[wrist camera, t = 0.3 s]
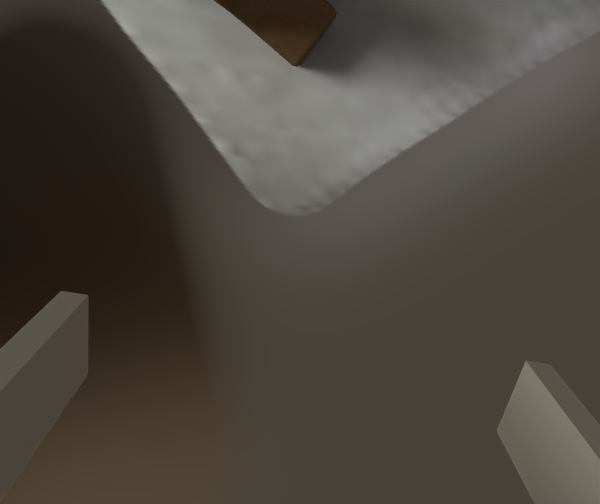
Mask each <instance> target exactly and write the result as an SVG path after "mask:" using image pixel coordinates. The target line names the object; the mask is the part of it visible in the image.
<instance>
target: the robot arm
mask: <svg viewBox="0 0 600 504" xmlns="http://www.w3.org/2000/svg"><path fill="white" fill-rule="evenodd" d="M87 375H88V295H83V294H77V293H70V292H63V291H61V292H60V293H59V294H58V295H57V296H56V297H55V298H53V299H52V300H51V301H50V303H48V304H47V305H46V306H45V307H44V308H43V309H42V310H41V311H40V312H39V313H38V314H37V315H36V316H35V317H34V318H32V319H31V320H30V321H29V322H28V323H27V324H26V325H25V326H24V327H23V328H22V329H21V330H20V331H19V332H18V333H17V334H16V335H15V336H14V337H13V338H12V339H11V340H9V341H8V342H7V343H6V344H5V345H4V346H3V347H2V348H1V349H0V502H1V500H2V499H3V497H4V496H5V494H6V493H7V491H8V490H9V488H10V487H11V486H12V484H13V482H14V481H15V480H16V478H17V477H18V475H19V474H20V472H21V471H22V469H23V468H24V467H25V465H26V464H27V462H28V461H29V459H30V458H31V456H32V455H33V453H34V452H35V451H36V449H37V447H38V446H39V445H40V443H41V442H42V440H43V439H44V437H45V436H46V434H47V433H48V432H49V430H50V428H51V427H52V426H53V424H54V423H55V421H56V420H57V418H58V417H59V415H60V414H61V413H62V411H63V410H64V408H65V407H66V405H67V404H68V402H69V401H70V399H71V398H72V396H73V395H74V394H75V392H76V391H77V389H78V388H79V386H80V384H81V383H82V382H83V380H84V379H85V377H86V376H87ZM497 432H498V434H499V436H500V438H501V440H502V442H503V444H504V446H505V448H506V450H507V452H508V453H509V455H510V457H511V459H512V461H513V463H514V465H515V467H516V469H517V471H518V473H519V474H520V476H521V478H522V480H523V482H524V484H525V486H526V488H527V490H528V491H529V493H530V495H531V497H532V499H533V501H534V503H535V504H600V425H599V424H598V423H597V421H596V420H595V419H594V418H593V416H592V415H591V414H590V413H589V412H588V410H587V409H586V408H585V407H584V406H583V404H582V403H581V402H580V401H579V399H578V398H577V397H576V396H575V395H574V393H573V392H572V391H571V390H570V388H569V387H568V386H567V385H566V383H565V382H564V381H563V380H562V379H561V377H560V376H559V375H558V374H557V372H556V371H555V370H554V369H553V368H552V366H551V365H550V364H544V363H537V362H530V361H526V362H525V364H524V367H523V369H522V372H521V374H520V377H519V379H518V381H517V384H516V386H515V388H514V391H513V393H512V396H511V398H510V400H509V403H508V405H507V408H506V410H505V413H504V415H503V417H502V420H501V422H500V425H499V427H498V429H497Z"/></svg>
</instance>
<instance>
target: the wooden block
mask: <svg viewBox="0 0 600 504" xmlns="http://www.w3.org/2000/svg"><path fill="white" fill-rule="evenodd" d="M214 1H216V2H217V3H218V4H220V5H221V6H222V7H224V8H225V9H226V10H228V11H229V12H230V13H232V14H233V15H234V16H235V17H237V18H238V19H239V20H240V21H241V22H243V23H244V24H245V25H246V26H247V27H249V28H250V29H251V30H252V31H253V32H254V33H256V34H257V35H258V36H259V37H260V38H261V39H263V40H264V41H265V42H266V43H267V44H268V45H270V46H271V47H272V48H273V49H274V50H275V51H276V52H278V53H279V54H280V55H281V56H282V57H283V58H284V59H286V60H287V61H288V62H289V63H290V64H291V65H293V66H296V67H297V66H299V65H300V64H301V63H302V62H303V60H304V59H305V58H306V56H307V55H308V54H309V52H310V51H311V50H312V48H313V47H314V46H315V45H316V43H317V42H318V41H319V39H320V38H321V37H322V35H323V34H324V33H325V31H326V30H327V29H328V27H329V26H330V25H331V23H332V22H333V21H334V19H335V17H336V14H337V13H336V11H335V9H334V8H333V7H332V6H331V5H330V4H329V3H328V2H327V1H326V0H214Z"/></svg>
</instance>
